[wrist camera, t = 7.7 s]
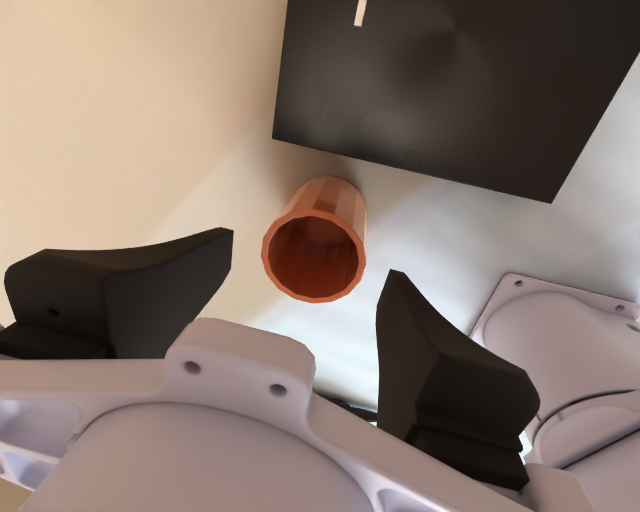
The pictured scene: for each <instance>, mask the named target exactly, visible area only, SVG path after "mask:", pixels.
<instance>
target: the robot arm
mask: <svg viewBox="0 0 640 512" xmlns="http://www.w3.org/2000/svg"><path fill="white" fill-rule="evenodd" d="M233 233H234V230H230V229H226V228H222V227H219V228H214V229H211V230H207V231H204V232H201V233H197V234H194V235H191V236H187V237H184V238H180V239H176V240H172V241H168V242H164V243H160V244H155V245H149V246H143V247H135V248H125V249H114V250H58V249H43V250H41V251H39V252H37V253H35V254H33V255H31V256H29V257H27V258H25V259H23V260H21V261H18V262H16V263H15V264H13V265H11V266H9V268H8V269H7V271H6V272H5V278H4V285H5V290H6V293H7V296H8V299H9V302H10V305H11V308H12V311H13V313H14V316H15V319H16V322H14V323H13V324H11V325H10V326H8V327H7V328H4V327H3V326H2V325H1V324H0V477H1V478H3V479H5V480H8V481H10V482H12V483H15V484H17V485H19V486H22V487H24V488H26V489H28V490H31V491H33V493H32V494H31V496H30V497H29V498H28V499H27V500H26V502H25V503H24V504H23V505H22V506H21V507H20V509H19V510H18V511H17V512H640V323H639V322H637V321H636V319H637V318H638V317H639V315H640V305H639V304H637V303H633V302H629V301H625V300H621V299H617V298H613V297H608V296H604V295H600V294H596V293H592V292H588V291H584V290H580V289H575V288H571V287H567V286H563V285H559V284H555V283H551V282H547V281H542V280H538V279H534V278H530V277H526V276H522V275H518V274H514V273H509V274H506V275H505V276H504V277H503V278H502V280H501V282H500V283H499V285H498V287H497V289H496V290H495V292H494V294H493V296H492V297H491V299H490V301H489V303H488V304H487V306H486V308H485V310H484V311H483V313H482V315H481V317H480V318H479V320H478V322H477V324H476V325H475V327H474V329H473V331H472V332H471V334H470V336H469V337H468V336H466V335H465V334H464V333H462V332H461V331H460V330H458V329H457V328H456V327H455V326H453V325H452V324H451V323H450V322H449V321H448V320H446V319H445V318H444V317H443V316H442V315H441V314H440V313H439V312H438V311H437V310H436V309H435V308H434V307H433V306H432V305H431V304H430V303H429V302H428V301H427V299H426V298H425V297H424V296H423V295H422V294H421V293H420V291H419V290H418V289H417V288H416V286H415V285H414V284H413V283H412V281H411V280H410V279H409V278H408V277H407V275H406V274H405V273H404V272H400V271H396V270H392V269H390V271H389V274H388V276H387V279H386V282H385V285H384V287H383V290H382V293H381V296H380V298H379V301H378V304H377V311H376V336H377V349H378V361H379V394H378V413H377V427H376V426H374V425H372V424H370V423H369V422H367V421H365V420H363V419H361V418H359V417H358V416H356V415H354V414H352V413H350V412H348V411H347V410H345V409H343V408H341V407H339V406H337V405H336V404H334V403H332V402H330V401H328V400H326V399H325V398H323V397H321V396H319V395H317V394H315V393H314V392H313V390H312V385H313V380H314V375H315V370H316V368H315V357H314V355H313V354H312V353H311V352H310V350H309V349H308V348H307V347H306V346H305V345H304V344H302V343H300V342H298V341H296V340H294V339H292V338H290V337H287V336H283V335H279V334H275V333H271V332H267V331H264V330H260V329H256V328H252V327H248V326H244V325H240V324H236V323H232V322H228V321H224V320H221V319H217V318H199V319H197V320H195V321H193V320H194V319H195V318H196V317H197V315H198V314H199V313H200V312H201V310H202V309H203V308H204V307H205V305H206V304H207V303H208V302H209V300H210V299H211V298H212V297H213V295H214V294H215V293H216V292H217V290H218V289H219V288H220V286H221V285H222V284H223V282H224V280H225V278H226V277H227V275H228V273H229V271H230V269H231V260H232V246H233ZM519 280H520V282H519V283H518V284H515V282H516V281H519ZM619 305H620V306H619ZM617 306H619V307H617ZM616 307H617V308H616ZM523 430H525V433H526V435H527V437H528V439H529V441H530V443H531V446H532V448H533V449H532V450H531V451H530V452H529V453H528V454H527V455H525V456H524V457H523V458H524V460H525V463H526V464H525V465H523V462H522V460H521V458H520V455H519V453H518V452H520V453H521V452H522V451H523V446H522V444H521V441H520V439H519V437H518V436H519V435H520V434H521V433H522V431H523Z"/></svg>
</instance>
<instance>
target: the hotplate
mask: <svg viewBox="0 0 640 512" xmlns="http://www.w3.org/2000/svg"><path fill="white" fill-rule="evenodd" d="M639 52H640V0H288V5H287V13H286V22H285V30H284V39H283V47H282V56H281V64H280V73H279V81H278V90H277V98H276V107H275V116H274V124H273V133H272V139H275V140H279V141H284V142H288V143H292V144H296V145H301V146H305V147H309V148H314V149H318V150H322V151H326V152H331V153H335V154H339V155H344V156H348V157H352V158H356V159H361V160H365V161H369V162H373V163H378V164H382V165H386V166H391V167H395V168H399V169H403V170H408V171H412V172H416V173H420V174H425V175H429V176H433V177H438V178H442V179H446V180H450V181H455V182H459V183H463V184H468V185H472V186H476V187H480V188H485V189H489V190H493V191H497V192H502V193H506V194H510V195H515V196H519V197H523V198H527V199H532V200H536V201H540V202H544V203H549V204H551V203H552V202H553V200H554V198H555V197H556V195H557V193H558V191H559V190H560V188H561V186H562V185H563V183H564V181H565V179H566V178H567V176H568V174H569V173H570V171H571V169H572V167H573V166H574V164H575V162H576V161H577V159H578V157H579V155H580V154H581V152H582V150H583V148H584V147H585V145H586V143H587V142H588V140H589V138H590V136H591V135H592V133H593V131H594V130H595V128H596V126H597V124H598V123H599V121H600V119H601V118H602V116H603V114H604V112H605V111H606V109H607V107H608V106H609V104H610V102H611V100H612V99H613V97H614V95H615V94H616V92H617V90H618V88H619V87H620V85H621V83H622V82H623V80H624V78H625V76H626V75H627V73H628V71H629V69H630V68H631V66H632V64H633V63H634V61H635V59H636V57H637V56H638V54H639Z"/></svg>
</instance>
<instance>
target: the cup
mask: <svg viewBox="0 0 640 512" xmlns="http://www.w3.org/2000/svg"><path fill="white" fill-rule="evenodd" d="M366 247H367V212H366V205H365V202H364V199H363V197H362V195H361V194H360V192H359V191H358V190H357V189H356V187H355V186H353V185H352V184H351V183H349V182H348V181H346V180H344V179H342V178H338V177H334V176H321V177H317V178H314V179H312V180H310V181H308V182H306V183H305V184H304V185H303V186H302V187H300V188H299V189H298V191H297V192H296V193H295V195H294V196H293V197H292V198H291V200H290V201H289V202H288V204H287V205H286V206H285V208H284V209H283V210H282V212H281V213H280V214H279V215H278V217H277V218H276V219H275V221H274V222H273V223H272V225H271V227H270V228H269V230H268V231H267V233H266V234H265V236H264V238H263V243H262V251H261V258H262V261H263V264H264V268H265V271H266V273H267V275H268V276H269V278H270V279H271V280H272V281H273V283H274V284H275V285H276V287H277V288H278V289H280V290H281V291H283V292H284V293H286V294H288V295H289V296H291V297H292V298H295V299H297V300H301V301H305V302H309V303H324V302H333V301H335V300H337V299H339V298H341V297H343V296H346V295H348V294H349V293H350V292H351V291H352V290H353V289H354V288H355V286H356V285H357V284H358V283H359V282H360V281H361V278H362V275H363V272H364V269H365V266H366Z"/></svg>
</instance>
